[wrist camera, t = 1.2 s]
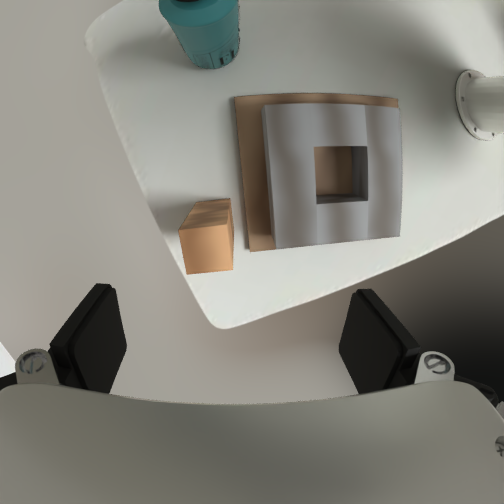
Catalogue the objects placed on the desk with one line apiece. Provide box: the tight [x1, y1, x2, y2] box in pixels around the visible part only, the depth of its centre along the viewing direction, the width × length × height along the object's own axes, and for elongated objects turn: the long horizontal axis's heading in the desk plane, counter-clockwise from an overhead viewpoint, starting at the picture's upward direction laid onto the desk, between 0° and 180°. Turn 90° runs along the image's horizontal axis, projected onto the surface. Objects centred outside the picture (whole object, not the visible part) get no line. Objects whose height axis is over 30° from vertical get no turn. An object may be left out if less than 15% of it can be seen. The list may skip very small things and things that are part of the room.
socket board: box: [234, 93, 402, 252], centre depth 32 cm, size 22×20×6 cm
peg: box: [178, 198, 234, 274], centre depth 31 cm, size 4×4×12 cm
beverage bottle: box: [159, 0, 240, 69], centre depth 19 cm, size 6×7×20 cm
